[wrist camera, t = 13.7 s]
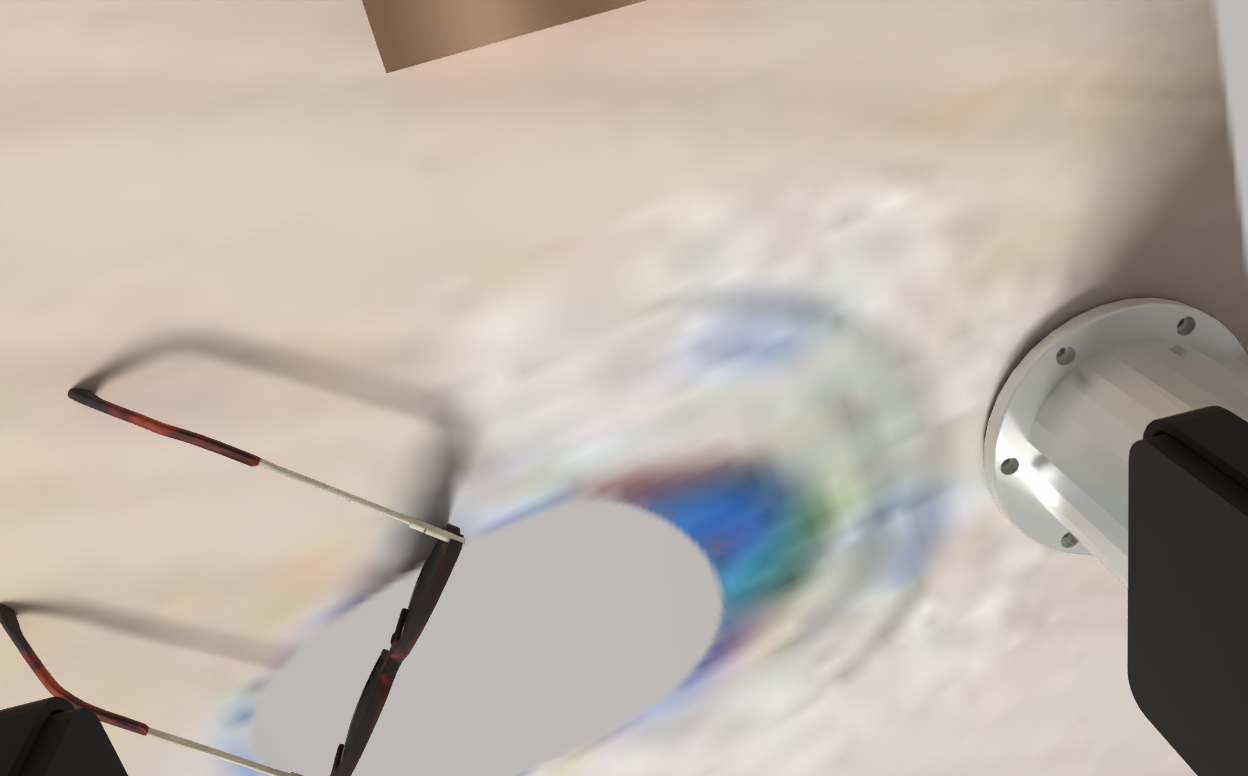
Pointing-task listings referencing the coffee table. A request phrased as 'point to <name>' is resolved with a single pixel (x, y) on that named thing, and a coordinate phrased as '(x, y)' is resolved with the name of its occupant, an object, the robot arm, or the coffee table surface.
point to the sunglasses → (387, 663)
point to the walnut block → (465, 24)
